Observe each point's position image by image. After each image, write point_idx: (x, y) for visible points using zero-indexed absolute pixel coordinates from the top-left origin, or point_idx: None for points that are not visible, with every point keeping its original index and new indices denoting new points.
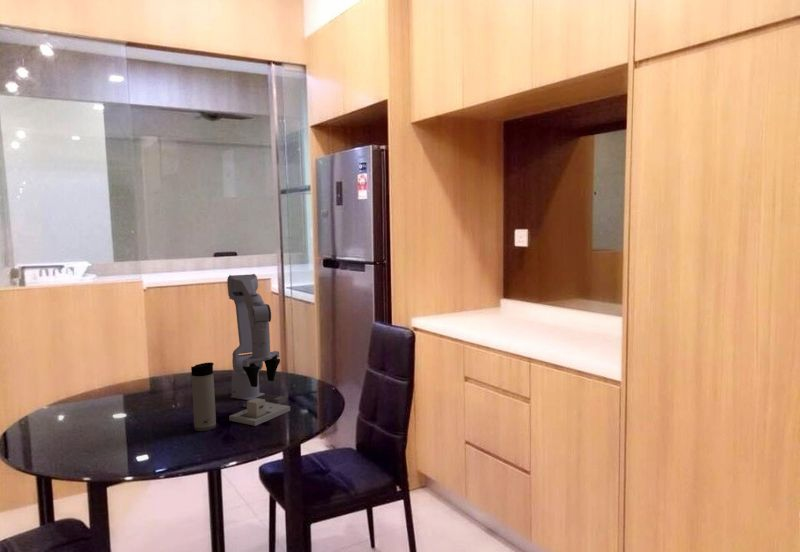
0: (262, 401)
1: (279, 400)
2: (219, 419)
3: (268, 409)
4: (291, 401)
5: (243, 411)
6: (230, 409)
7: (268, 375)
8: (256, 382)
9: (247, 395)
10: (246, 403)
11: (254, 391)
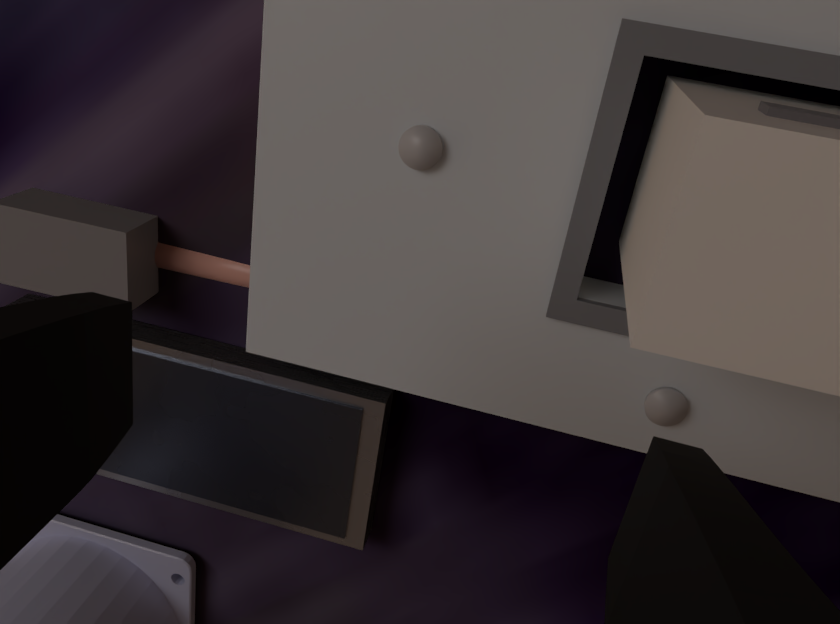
0: (788, 128)
1: (115, 225)
2: None
3: (500, 146)
4: (9, 123)
5: (674, 417)
6: (470, 605)
7: (49, 479)
8: (725, 505)
9: (149, 610)
10: (337, 526)
11: (73, 587)
